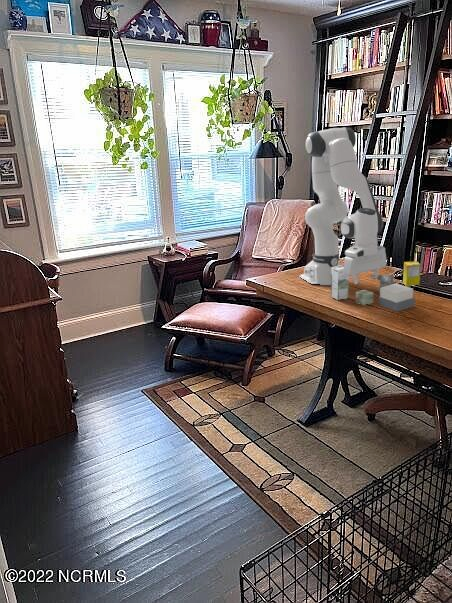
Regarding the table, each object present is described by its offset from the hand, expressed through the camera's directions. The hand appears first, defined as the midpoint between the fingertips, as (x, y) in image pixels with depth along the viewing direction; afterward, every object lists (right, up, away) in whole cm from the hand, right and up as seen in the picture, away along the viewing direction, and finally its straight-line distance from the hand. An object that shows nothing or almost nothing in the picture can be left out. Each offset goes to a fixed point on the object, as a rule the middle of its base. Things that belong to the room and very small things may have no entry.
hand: (365, 281), depth 190 cm
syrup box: (-8, -7, +12) cm, 16 cm away
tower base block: (+12, -11, -1) cm, 16 cm away
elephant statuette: (+14, -4, +16) cm, 22 cm away
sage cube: (+1, -9, +4) cm, 10 cm away
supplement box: (+27, -1, +20) cm, 34 cm away
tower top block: (+12, -7, -3) cm, 14 cm away
